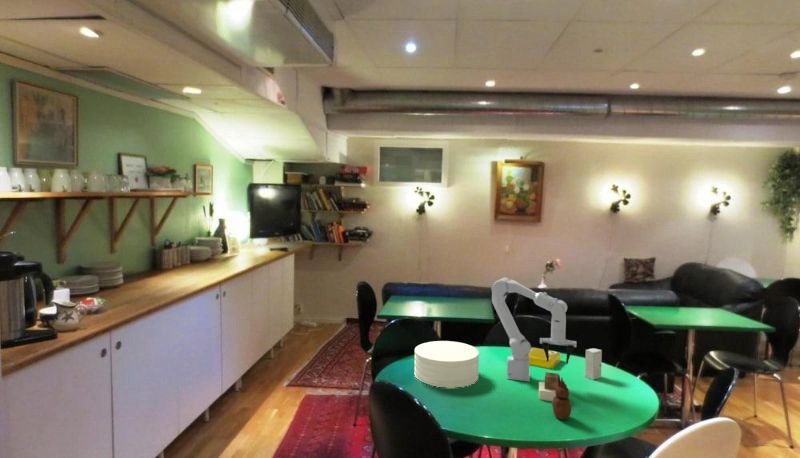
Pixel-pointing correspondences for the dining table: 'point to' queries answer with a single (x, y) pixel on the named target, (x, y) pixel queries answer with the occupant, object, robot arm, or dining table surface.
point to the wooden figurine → (561, 401)
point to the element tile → (543, 358)
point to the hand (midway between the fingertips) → (557, 361)
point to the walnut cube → (551, 380)
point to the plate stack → (446, 364)
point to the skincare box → (593, 363)
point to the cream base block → (545, 392)
